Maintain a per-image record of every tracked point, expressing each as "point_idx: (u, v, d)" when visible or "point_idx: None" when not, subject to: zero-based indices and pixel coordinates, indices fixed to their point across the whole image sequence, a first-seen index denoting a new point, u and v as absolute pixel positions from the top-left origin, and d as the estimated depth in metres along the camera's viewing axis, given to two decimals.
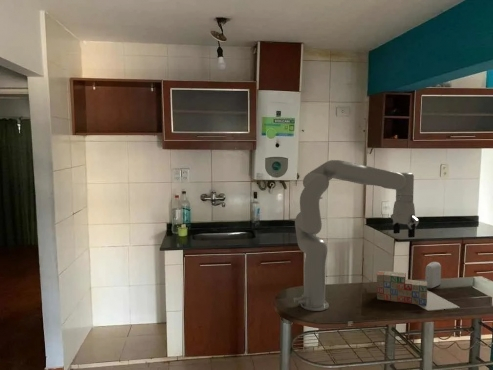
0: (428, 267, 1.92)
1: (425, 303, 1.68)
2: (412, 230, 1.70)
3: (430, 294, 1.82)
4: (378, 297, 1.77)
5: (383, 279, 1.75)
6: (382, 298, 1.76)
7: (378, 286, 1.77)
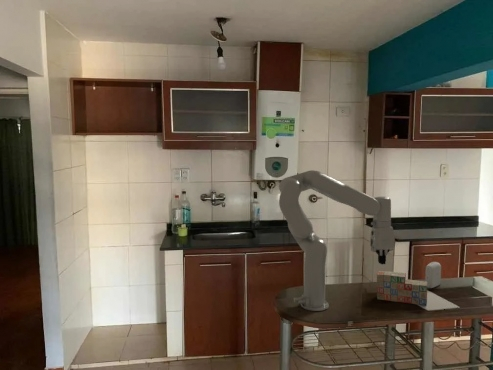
0: (428, 267, 1.92)
1: (425, 303, 1.68)
2: None
3: (430, 294, 1.82)
4: (378, 297, 1.77)
5: (383, 279, 1.75)
6: (382, 298, 1.76)
7: (378, 286, 1.77)
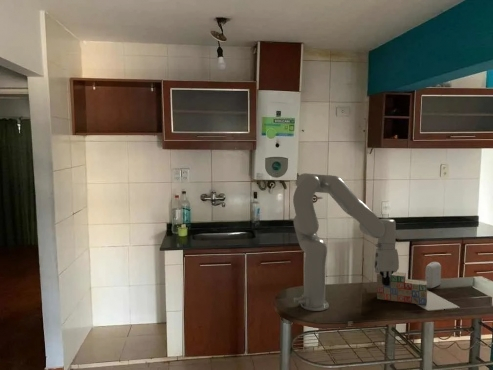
0: (428, 267, 1.92)
1: (425, 302, 1.68)
2: None
3: (430, 294, 1.82)
4: (378, 297, 1.77)
5: None
6: (382, 298, 1.77)
7: (378, 286, 1.77)
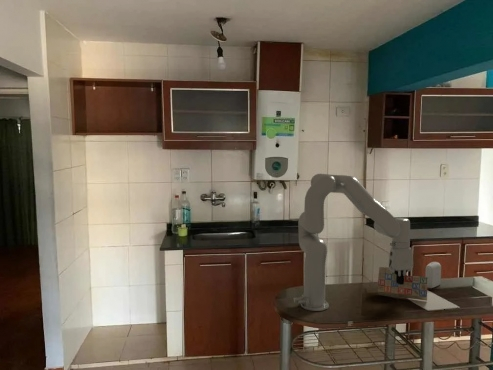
0: (428, 267, 1.92)
1: (425, 294, 1.69)
2: None
3: (430, 294, 1.82)
4: (378, 289, 1.79)
5: (385, 271, 1.81)
6: (382, 290, 1.78)
7: (379, 278, 1.81)
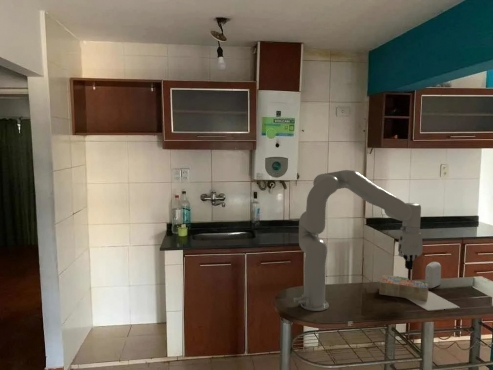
0: (428, 267, 1.92)
1: (426, 287, 1.74)
2: None
3: (430, 294, 1.82)
4: (380, 281, 1.83)
5: (388, 276, 1.90)
6: (384, 282, 1.82)
7: (382, 278, 1.88)
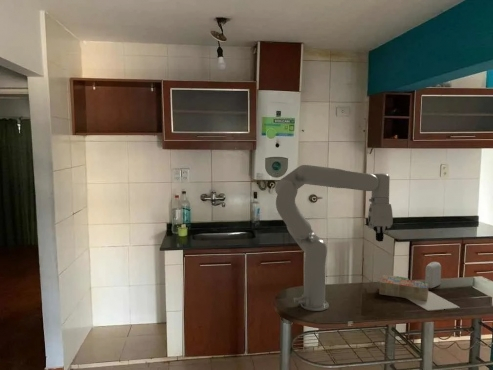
0: (428, 267, 1.92)
1: (426, 287, 1.74)
2: None
3: (430, 294, 1.82)
4: (380, 281, 1.83)
5: (388, 276, 1.90)
6: (384, 282, 1.82)
7: (382, 278, 1.88)
